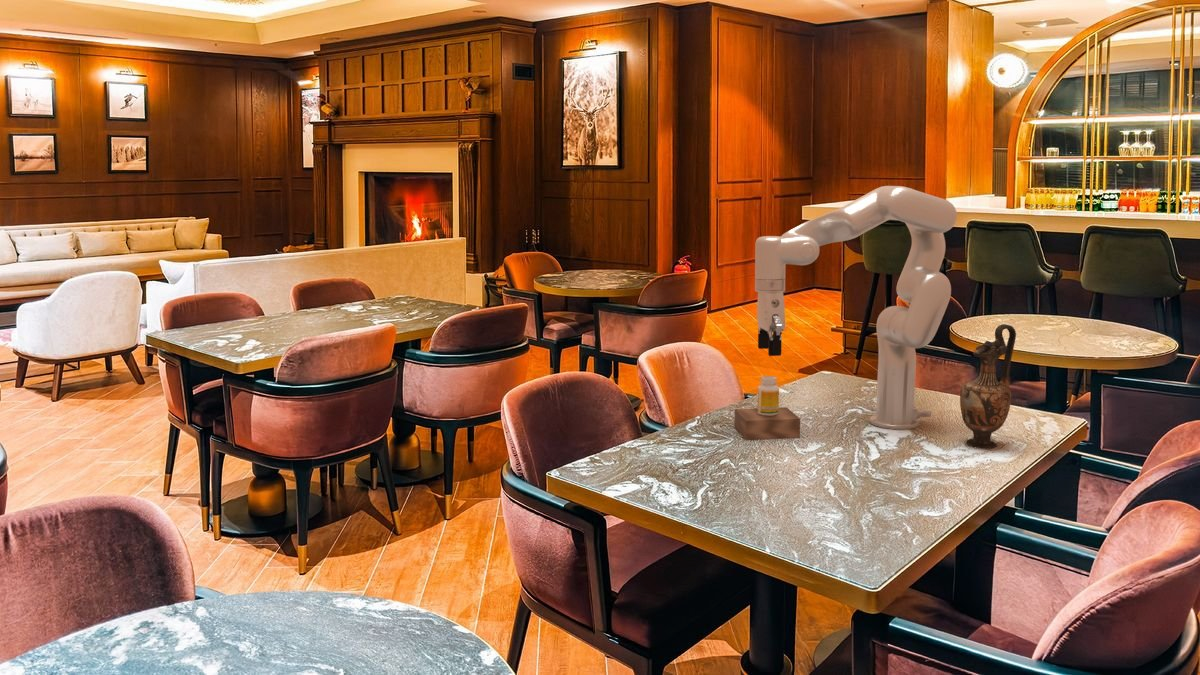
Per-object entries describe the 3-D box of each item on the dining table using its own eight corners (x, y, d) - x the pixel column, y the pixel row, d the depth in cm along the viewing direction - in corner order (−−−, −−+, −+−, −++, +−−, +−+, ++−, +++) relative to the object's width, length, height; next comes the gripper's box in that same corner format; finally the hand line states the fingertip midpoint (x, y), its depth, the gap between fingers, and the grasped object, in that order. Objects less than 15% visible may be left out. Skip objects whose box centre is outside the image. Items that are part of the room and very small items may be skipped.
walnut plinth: (786, 425, 253) (786, 407, 252) (799, 437, 242) (800, 418, 241) (734, 427, 252) (734, 409, 251) (745, 439, 240) (746, 420, 239)
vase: (948, 439, 240) (955, 321, 234) (996, 437, 241) (1003, 320, 235) (970, 452, 228) (978, 329, 223) (1020, 450, 229) (1029, 328, 224)
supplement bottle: (753, 412, 247) (754, 376, 246) (770, 410, 249) (771, 374, 248) (765, 417, 242) (765, 380, 241) (782, 415, 244) (783, 378, 243)
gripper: (794, 289, 232) (793, 357, 235) (775, 281, 249) (774, 345, 252) (764, 290, 231) (764, 359, 234) (746, 282, 248) (746, 346, 251)
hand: (769, 351), depth 243 cm, fingers open, 9 cm apart
